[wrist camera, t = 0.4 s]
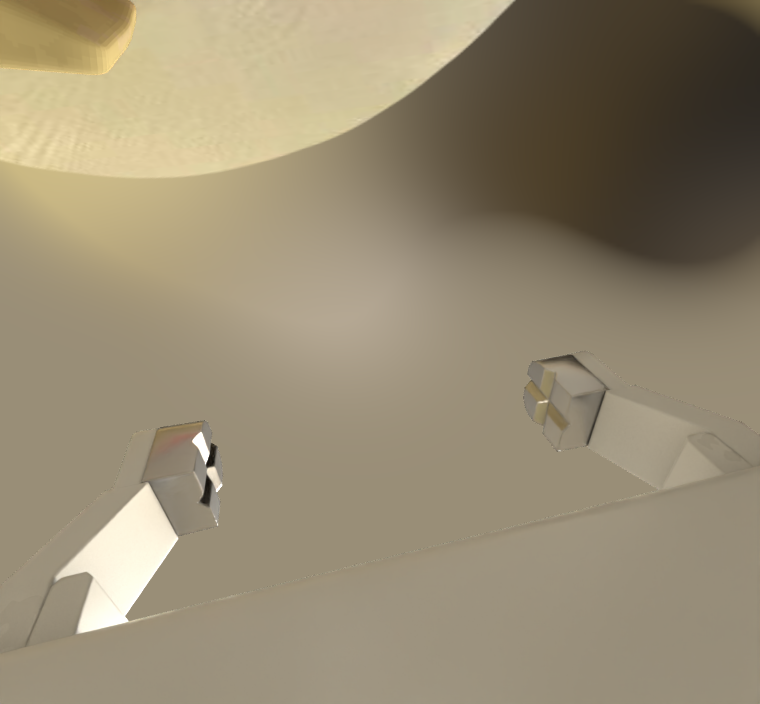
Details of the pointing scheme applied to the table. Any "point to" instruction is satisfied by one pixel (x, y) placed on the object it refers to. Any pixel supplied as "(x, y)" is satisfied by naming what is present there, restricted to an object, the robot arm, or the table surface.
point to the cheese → (65, 34)
